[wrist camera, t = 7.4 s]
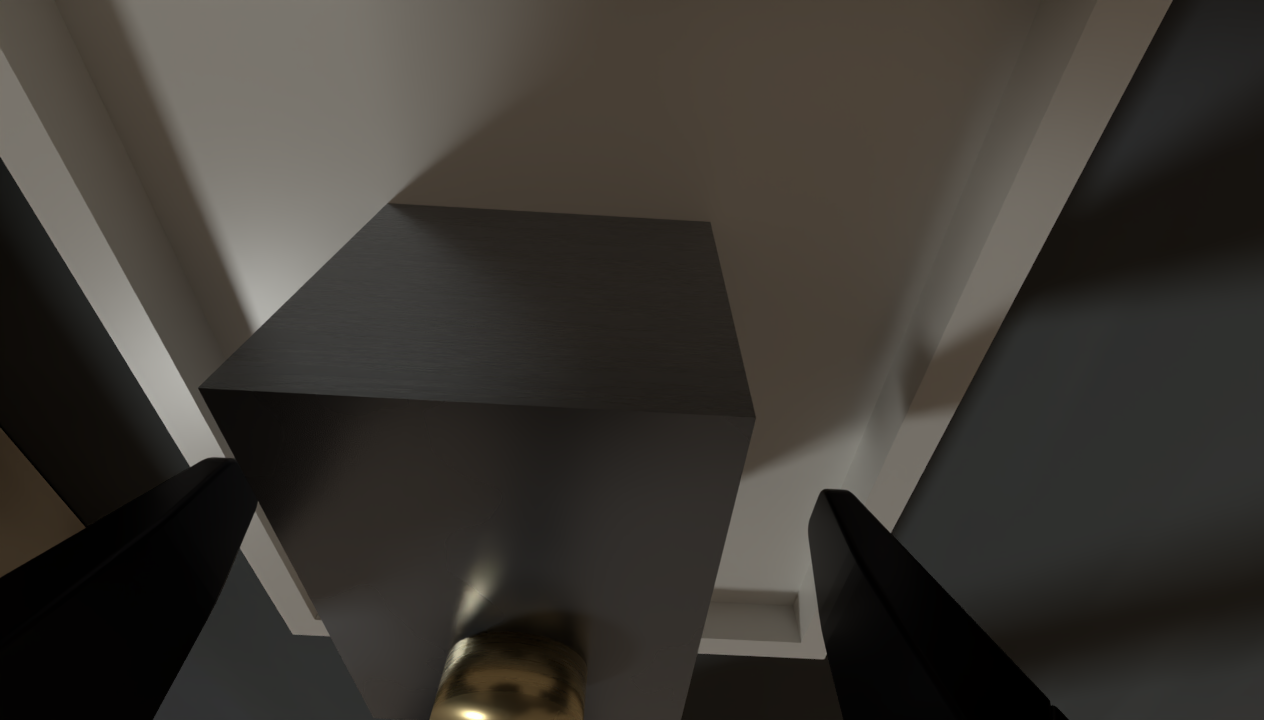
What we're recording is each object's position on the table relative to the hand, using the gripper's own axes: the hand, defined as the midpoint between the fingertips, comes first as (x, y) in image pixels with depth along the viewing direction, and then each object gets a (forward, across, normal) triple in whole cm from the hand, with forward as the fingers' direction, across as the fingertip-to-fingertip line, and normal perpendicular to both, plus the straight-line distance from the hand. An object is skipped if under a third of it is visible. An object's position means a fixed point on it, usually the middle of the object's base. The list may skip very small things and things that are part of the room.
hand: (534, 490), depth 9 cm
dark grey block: (+2, 0, 0) cm, 3 cm away
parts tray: (+3, 0, 0) cm, 3 cm away
